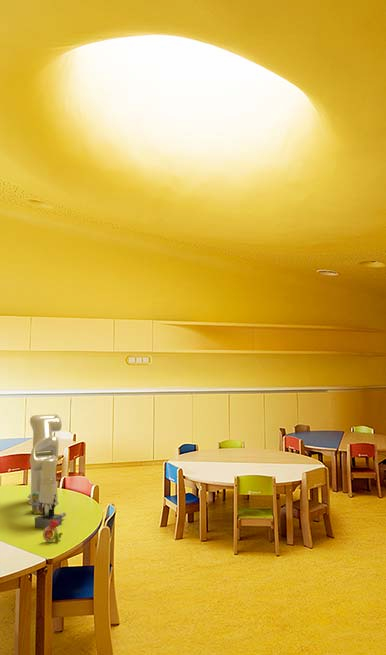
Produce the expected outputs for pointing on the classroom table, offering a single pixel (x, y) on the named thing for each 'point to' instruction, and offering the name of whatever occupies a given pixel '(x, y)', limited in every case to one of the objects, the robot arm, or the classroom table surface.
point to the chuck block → (44, 522)
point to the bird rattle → (51, 532)
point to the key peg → (47, 511)
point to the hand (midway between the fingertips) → (48, 515)
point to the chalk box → (36, 504)
